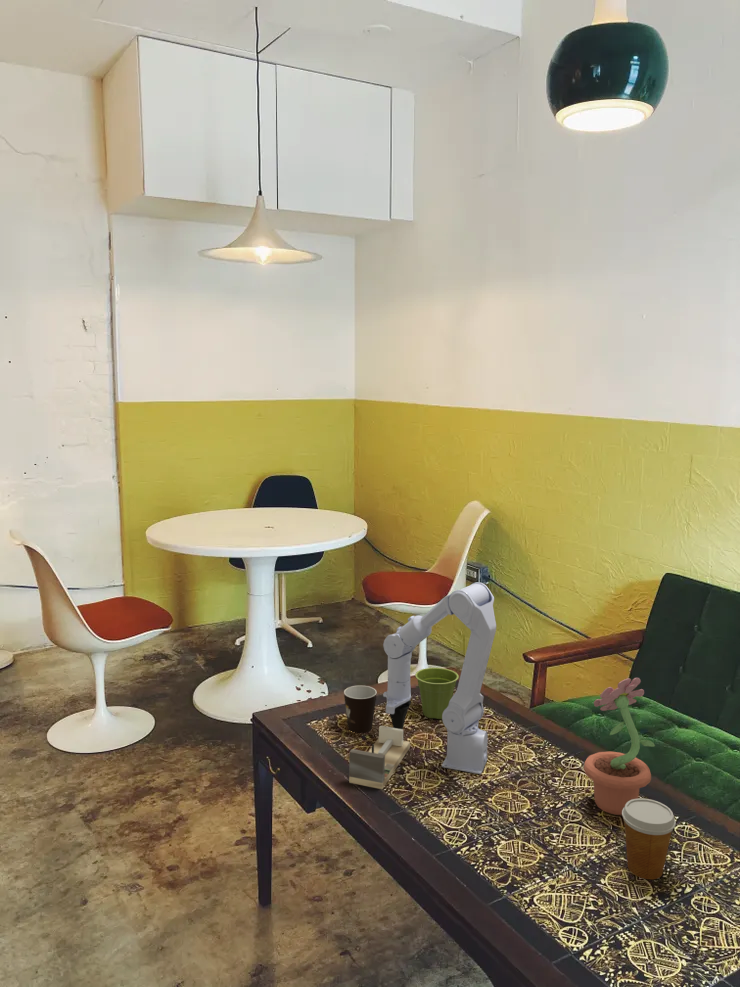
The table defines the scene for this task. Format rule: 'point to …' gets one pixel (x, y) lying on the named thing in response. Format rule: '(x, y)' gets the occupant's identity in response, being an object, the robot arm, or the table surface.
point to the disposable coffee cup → (647, 836)
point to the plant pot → (436, 690)
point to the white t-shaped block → (389, 738)
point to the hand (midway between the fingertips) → (398, 729)
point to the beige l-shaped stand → (375, 764)
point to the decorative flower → (618, 755)
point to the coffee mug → (360, 708)
